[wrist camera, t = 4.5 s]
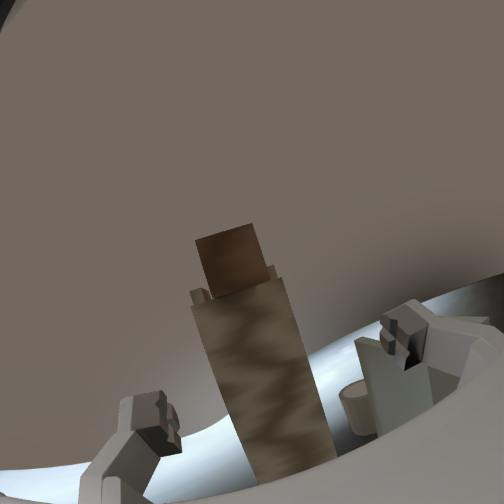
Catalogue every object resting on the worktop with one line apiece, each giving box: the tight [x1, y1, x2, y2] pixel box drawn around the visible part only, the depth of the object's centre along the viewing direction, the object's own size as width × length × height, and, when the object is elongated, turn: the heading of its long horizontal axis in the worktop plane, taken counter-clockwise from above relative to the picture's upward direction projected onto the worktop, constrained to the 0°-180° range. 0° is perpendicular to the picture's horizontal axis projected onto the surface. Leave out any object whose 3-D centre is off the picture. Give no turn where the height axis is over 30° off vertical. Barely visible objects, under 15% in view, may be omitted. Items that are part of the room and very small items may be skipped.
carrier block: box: [354, 316, 490, 438], centre depth 22 cm, size 7×12×18 cm, turn 6°
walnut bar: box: [195, 223, 271, 298], centre depth 26 cm, size 4×18×4 cm, turn 6°
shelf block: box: [190, 265, 337, 485], centre depth 30 cm, size 8×13×27 cm, turn 6°
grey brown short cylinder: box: [339, 379, 377, 436], centre depth 38 cm, size 7×7×7 cm
